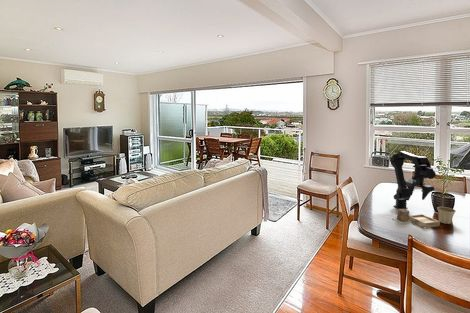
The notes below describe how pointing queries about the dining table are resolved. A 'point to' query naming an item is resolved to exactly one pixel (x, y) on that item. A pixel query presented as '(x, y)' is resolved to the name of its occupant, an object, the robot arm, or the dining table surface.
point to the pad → (402, 222)
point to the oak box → (424, 221)
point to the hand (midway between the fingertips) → (416, 197)
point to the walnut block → (402, 215)
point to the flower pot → (445, 214)
